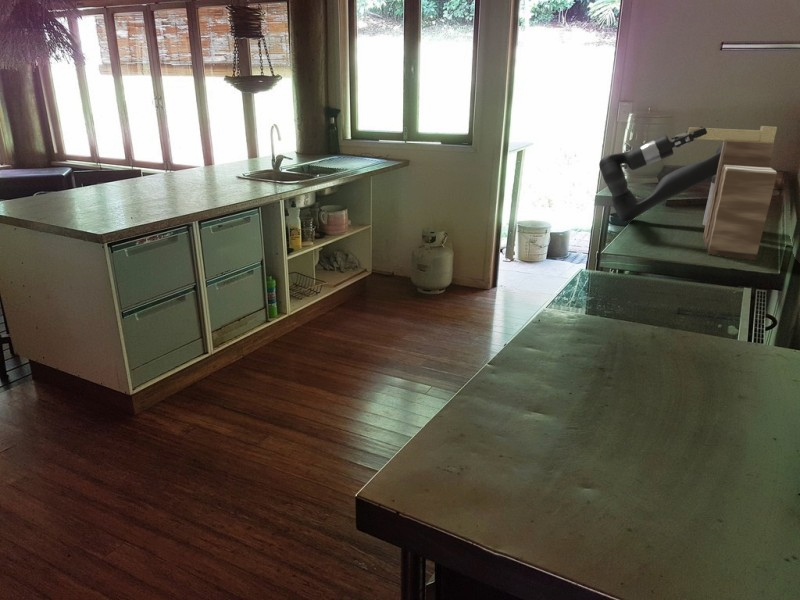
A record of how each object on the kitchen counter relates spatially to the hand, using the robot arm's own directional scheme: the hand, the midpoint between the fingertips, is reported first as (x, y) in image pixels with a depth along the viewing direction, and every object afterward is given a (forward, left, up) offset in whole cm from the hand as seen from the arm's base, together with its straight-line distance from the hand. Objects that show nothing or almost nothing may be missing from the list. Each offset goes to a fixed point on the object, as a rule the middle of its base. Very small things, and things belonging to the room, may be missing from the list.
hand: (704, 129), depth 199 cm
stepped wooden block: (+10, +12, -39) cm, 42 cm away
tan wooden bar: (+2, +8, -3) cm, 9 cm away
